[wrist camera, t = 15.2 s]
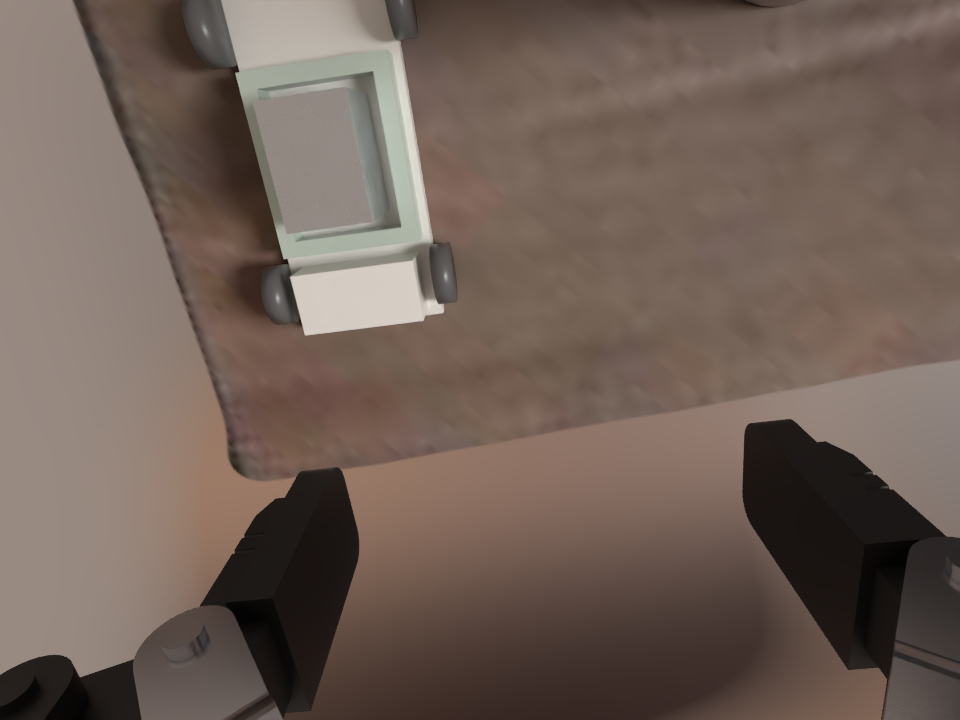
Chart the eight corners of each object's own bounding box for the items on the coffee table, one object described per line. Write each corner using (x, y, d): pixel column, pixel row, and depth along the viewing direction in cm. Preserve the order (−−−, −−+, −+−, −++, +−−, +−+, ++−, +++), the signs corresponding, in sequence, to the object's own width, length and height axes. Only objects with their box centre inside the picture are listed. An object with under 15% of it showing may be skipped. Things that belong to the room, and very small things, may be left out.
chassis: (405, -54, 33) (395, -78, 30) (460, 307, 41) (457, 323, 38) (202, -19, 34) (167, -39, 31) (294, 327, 42) (275, 346, 38)
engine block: (367, 94, 35) (344, 86, 30) (389, 209, 38) (372, 222, 32) (289, 106, 36) (252, 101, 30) (316, 220, 38) (286, 234, 33)
